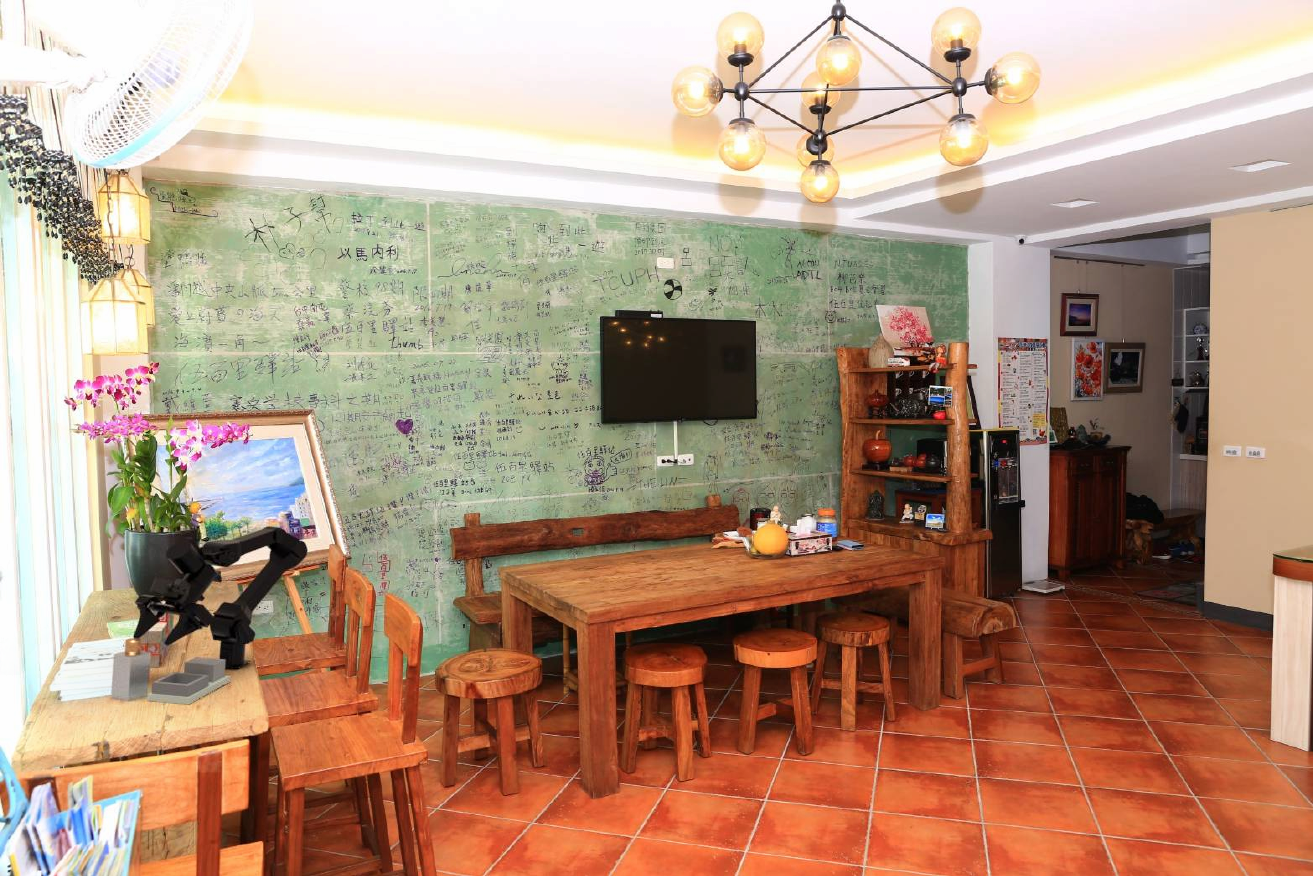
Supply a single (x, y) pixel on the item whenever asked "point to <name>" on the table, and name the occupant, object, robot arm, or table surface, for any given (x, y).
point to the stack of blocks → (158, 639)
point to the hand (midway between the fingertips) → (150, 641)
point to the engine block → (131, 672)
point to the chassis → (190, 682)
